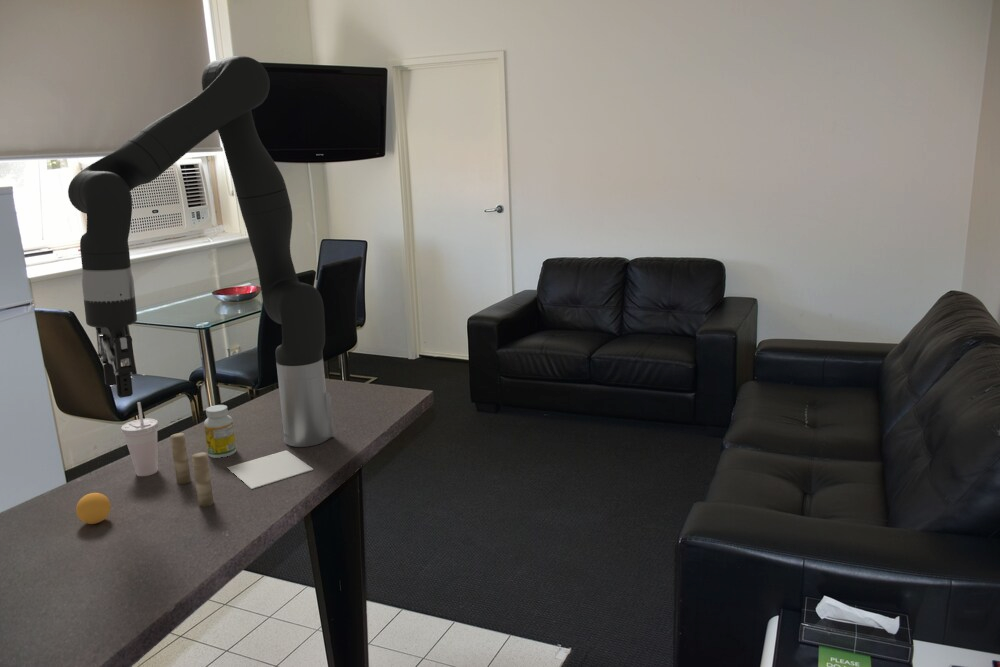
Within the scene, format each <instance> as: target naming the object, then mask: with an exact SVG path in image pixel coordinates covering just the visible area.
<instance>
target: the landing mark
mask: <svg viewBox="0 0 1000 667" xmlns="http://www.w3.org/2000/svg"><path fill="white" fill-rule="evenodd" d="M227 468H228V469H229V470H230V471H229V470H228V469H227ZM226 469H227V470H228V471H229V472H230V473H232V474H233V473H234V474H235V475H236V476H237V477H236V476H235V475H234V474H233V475H234V476H235V477H236V478H238V480H239V481H241V480H242V481H243V482H244V483H243V482H242V481H241V482H242V483H243V484H245V485H246V486H247V487H248V488H249V489H250V490H254V489H258V488H260V487H263V486H264V487H265V486H267V485H270V484H273V483H276V482H279V481H282V480H286V479H289V478H291V477H296V476H298V475H302V474H305V473H309V472H311V471H314V468H313V467H311V466H310V465H308V464H307V463H306V462H304V461H303V460H301V459H299V457H297V456H295V455H294V454H292V453H291V452H290V451H288V450H282V451H280V452H279V451H278V452H276V453H272V454H268V455H265V456H261V457H258V458H255V459H251V460H247V461H245V462H240V463H238V464H234V465H231V466H227V467H226Z"/></svg>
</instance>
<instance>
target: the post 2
mask: <svg viewBox="0 0 1000 667" xmlns="http://www.w3.org/2000/svg"><path fill="white" fill-rule="evenodd" d="M191 460H192V467H193V473H194V479H195V481H194V482H195V488H196V494H197V501H198V506H199V507H201V508H208V507H209V506H212V505H214V503H215V502H214V496H213V494H214V493H213V489H212V488H213V487H212V481H211V472H210V466H209V458H208V452H205V451H204V452H203V451H202V452H201V451H200V452H196V453H194V454H192V455H191Z"/></svg>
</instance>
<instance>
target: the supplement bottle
mask: <svg viewBox="0 0 1000 667" xmlns="http://www.w3.org/2000/svg"><path fill="white" fill-rule="evenodd" d="M228 409H229V408H228V406H227V405H224V404H216V405H212V406H208V407H206V409H205V414H206V417H207V418H206V419H205V420H204V423H203V427H204V432H205V434H204V435H205V441H206V448H207V450H206V451H207V456H209V457H210V458H212V459H213V458H214V459H222V458H221V457H223V458H227V456H228V457H230V456H232V455H234V454H235V453H236V451H237V445H236V437H235V428H234V422H233V417H232V416H230V415H229V410H228Z"/></svg>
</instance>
